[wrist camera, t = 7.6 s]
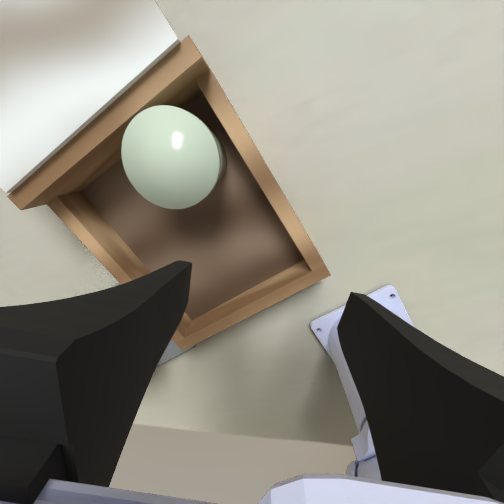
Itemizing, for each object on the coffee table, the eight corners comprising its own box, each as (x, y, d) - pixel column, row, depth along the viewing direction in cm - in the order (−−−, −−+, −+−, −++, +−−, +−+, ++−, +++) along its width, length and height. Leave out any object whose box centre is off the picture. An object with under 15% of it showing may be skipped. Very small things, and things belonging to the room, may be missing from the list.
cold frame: (321, 258, 21) (340, 292, 16) (191, 328, 24) (173, 373, 19) (126, -75, 14) (49, -200, 9) (-20, 86, 17) (-135, 59, 12)
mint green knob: (244, 169, 18) (237, 176, 13) (190, 206, 19) (164, 226, 14) (203, 103, 17) (176, 81, 11) (147, 147, 18) (100, 145, 13)
